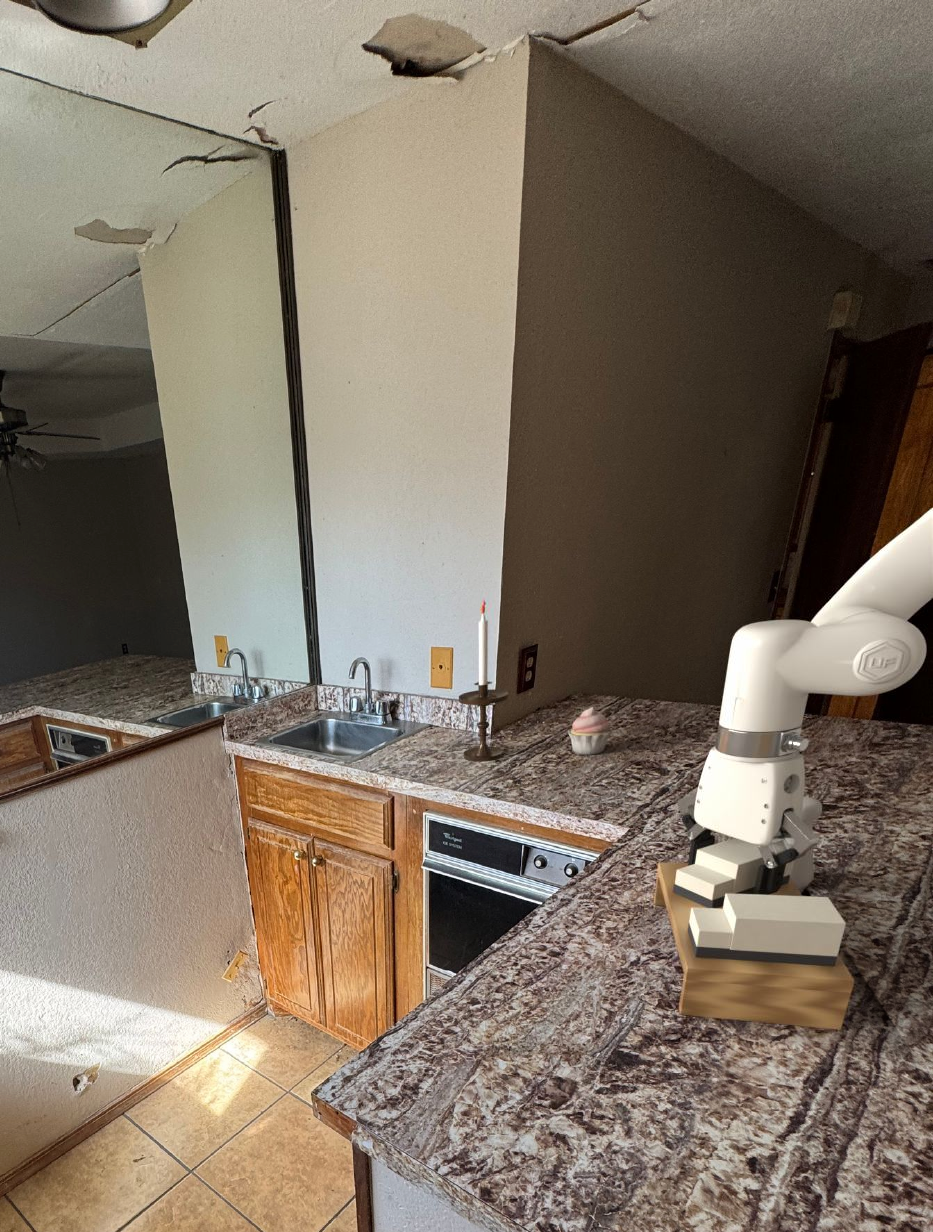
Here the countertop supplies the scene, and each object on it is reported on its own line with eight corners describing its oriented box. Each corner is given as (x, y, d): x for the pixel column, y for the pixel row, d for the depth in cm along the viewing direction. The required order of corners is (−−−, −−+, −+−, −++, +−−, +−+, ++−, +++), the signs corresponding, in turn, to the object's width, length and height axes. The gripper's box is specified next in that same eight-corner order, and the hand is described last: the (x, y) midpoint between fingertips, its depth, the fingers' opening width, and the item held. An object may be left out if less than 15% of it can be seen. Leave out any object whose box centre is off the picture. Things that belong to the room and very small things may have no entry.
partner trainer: (817, 938, 73) (828, 896, 71) (834, 966, 68) (846, 923, 66) (687, 931, 77) (693, 892, 75) (695, 957, 73) (701, 916, 71)
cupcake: (608, 757, 150) (611, 712, 146) (562, 756, 155) (565, 712, 151) (614, 745, 157) (618, 701, 153) (570, 744, 162) (573, 702, 158)
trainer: (746, 867, 88) (753, 831, 86) (788, 883, 83) (796, 845, 81) (672, 892, 85) (677, 855, 83) (711, 910, 80) (718, 871, 78)
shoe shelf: (774, 906, 90) (783, 865, 87) (840, 1030, 69) (855, 980, 66) (653, 901, 95) (658, 862, 93) (680, 1014, 74) (687, 968, 71)
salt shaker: (754, 878, 97) (772, 791, 91) (805, 881, 94) (826, 791, 89) (760, 897, 92) (778, 806, 87) (813, 901, 90) (835, 808, 84)
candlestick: (510, 760, 158) (513, 597, 143) (461, 764, 160) (459, 604, 145) (503, 747, 168) (505, 593, 152) (457, 751, 170) (455, 600, 155)
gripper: (865, 748, 69) (827, 899, 77) (712, 720, 85) (693, 849, 92) (810, 764, 68) (776, 917, 75) (664, 732, 83) (648, 863, 90)
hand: (731, 879), depth 84 cm, fingers open, 8 cm apart
